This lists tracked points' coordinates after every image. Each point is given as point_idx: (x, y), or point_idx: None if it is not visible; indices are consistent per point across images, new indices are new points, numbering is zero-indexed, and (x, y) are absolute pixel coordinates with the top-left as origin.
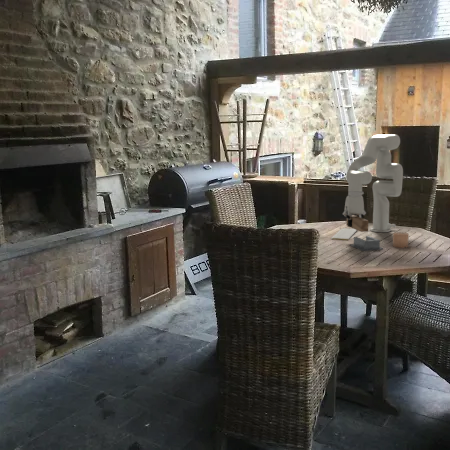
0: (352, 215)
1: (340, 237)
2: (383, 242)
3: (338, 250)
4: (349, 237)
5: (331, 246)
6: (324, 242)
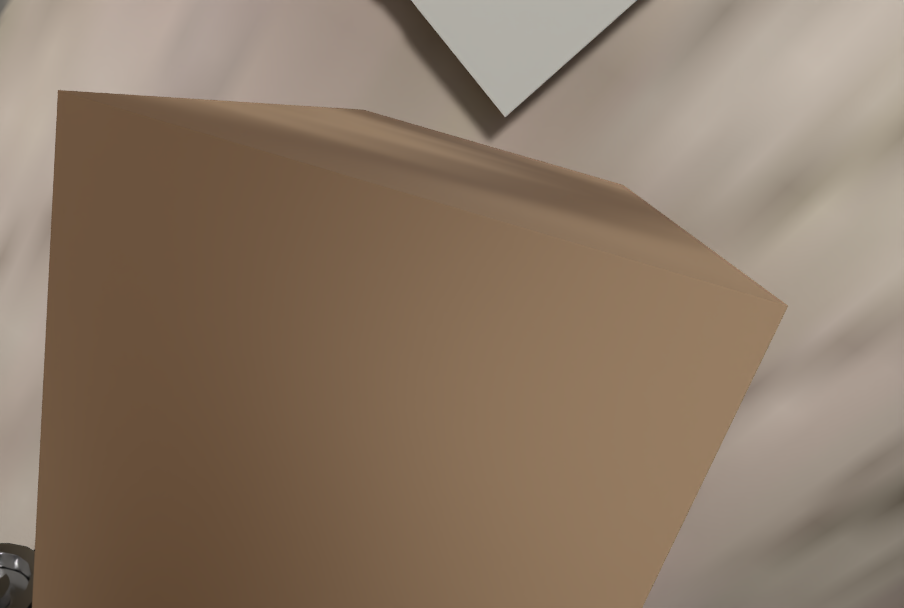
0: (482, 485)
1: None
2: (901, 578)
3: (17, 543)
4: (624, 3)
5: (19, 337)
6: (22, 36)
